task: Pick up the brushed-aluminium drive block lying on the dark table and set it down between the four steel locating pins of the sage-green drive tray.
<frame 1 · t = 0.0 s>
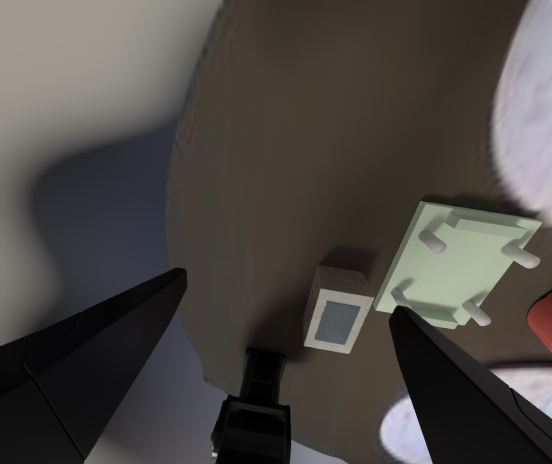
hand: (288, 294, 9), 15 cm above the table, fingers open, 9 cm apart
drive: (330, 295, 28), on the table
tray: (442, 267, 24), on the table
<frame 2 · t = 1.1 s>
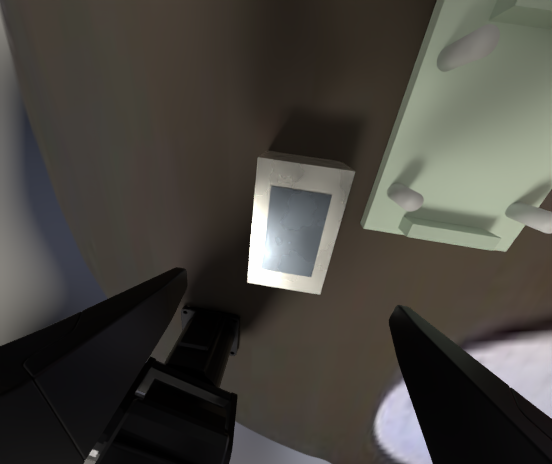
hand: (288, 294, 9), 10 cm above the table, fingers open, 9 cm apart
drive: (294, 211, 18), on the table
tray: (474, 142, 14), on the table
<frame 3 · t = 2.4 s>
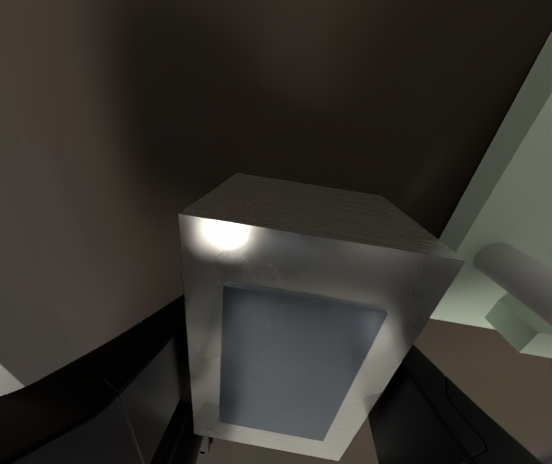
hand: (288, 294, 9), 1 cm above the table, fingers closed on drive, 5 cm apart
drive: (289, 277, 10), on the table, touching gripper
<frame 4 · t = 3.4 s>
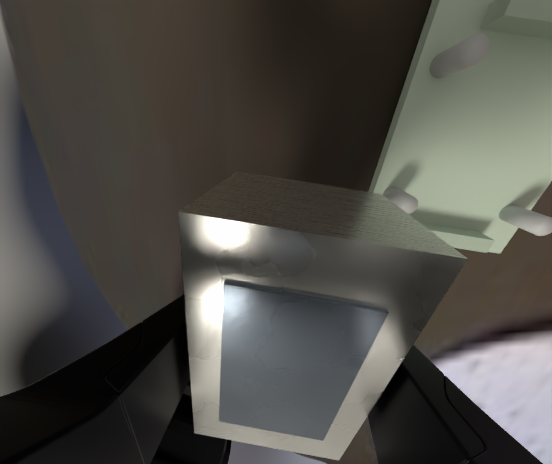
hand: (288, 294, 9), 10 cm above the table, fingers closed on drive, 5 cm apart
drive: (289, 276, 10), point 9 cm above the table, touching gripper
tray: (467, 146, 15), on the table
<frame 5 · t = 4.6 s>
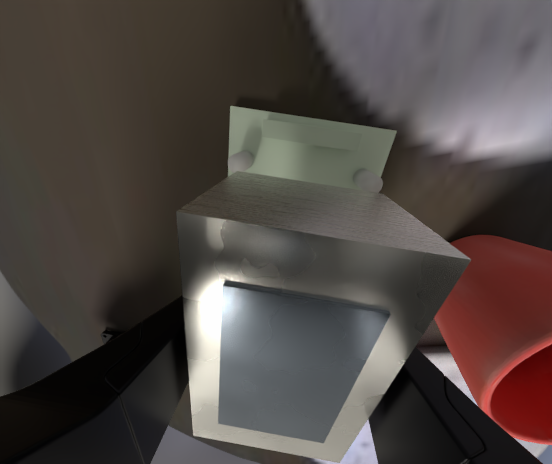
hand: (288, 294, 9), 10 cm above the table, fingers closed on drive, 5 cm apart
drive: (289, 277, 10), point 9 cm above the table, touching gripper
flower pot: (465, 270, 19), on the table
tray: (294, 212, 18), on the table
when the fingers open (4 cm above the table, at t = 6.4 s): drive drops 2 cm, resting on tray.
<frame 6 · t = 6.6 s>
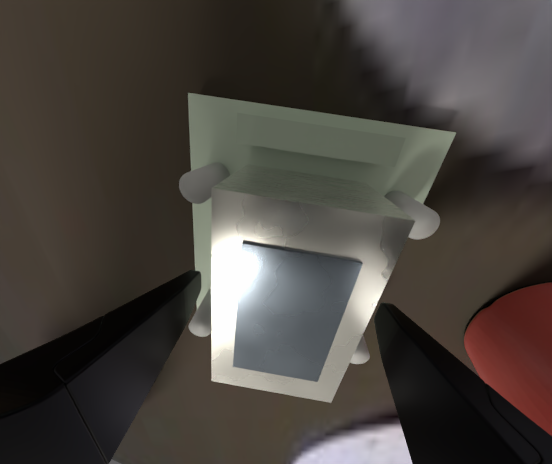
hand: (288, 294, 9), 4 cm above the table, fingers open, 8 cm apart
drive: (290, 255, 12), point 1 cm above the table, touching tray
flower pot: (528, 325, 14), on the table
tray: (291, 247, 13), on the table
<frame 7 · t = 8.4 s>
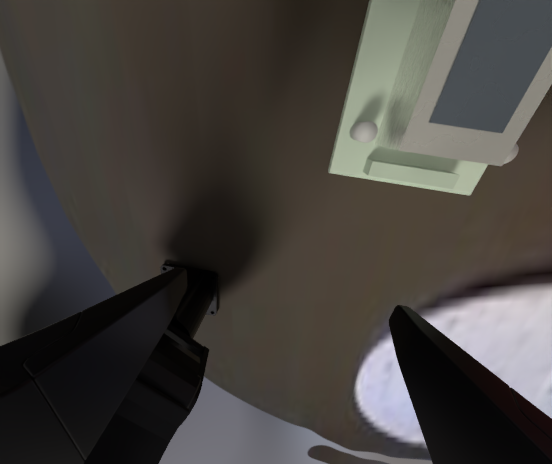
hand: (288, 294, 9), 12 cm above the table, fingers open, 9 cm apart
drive: (441, 75, 13), point 1 cm above the table, touching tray
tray: (434, 78, 14), on the table
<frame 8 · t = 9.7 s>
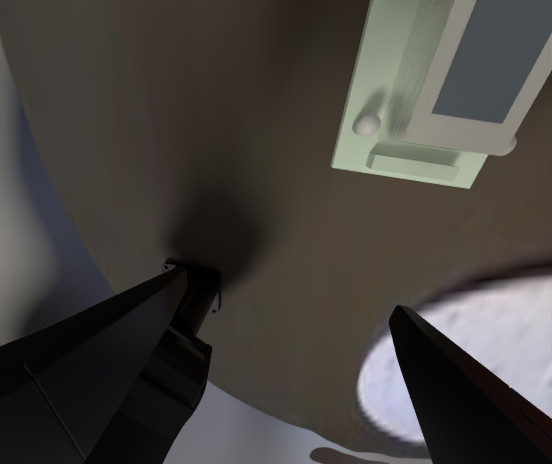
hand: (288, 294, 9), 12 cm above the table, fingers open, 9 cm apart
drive: (441, 70, 14), point 1 cm above the table, touching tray
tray: (433, 75, 15), on the table
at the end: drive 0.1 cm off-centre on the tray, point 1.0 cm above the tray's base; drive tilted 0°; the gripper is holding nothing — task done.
